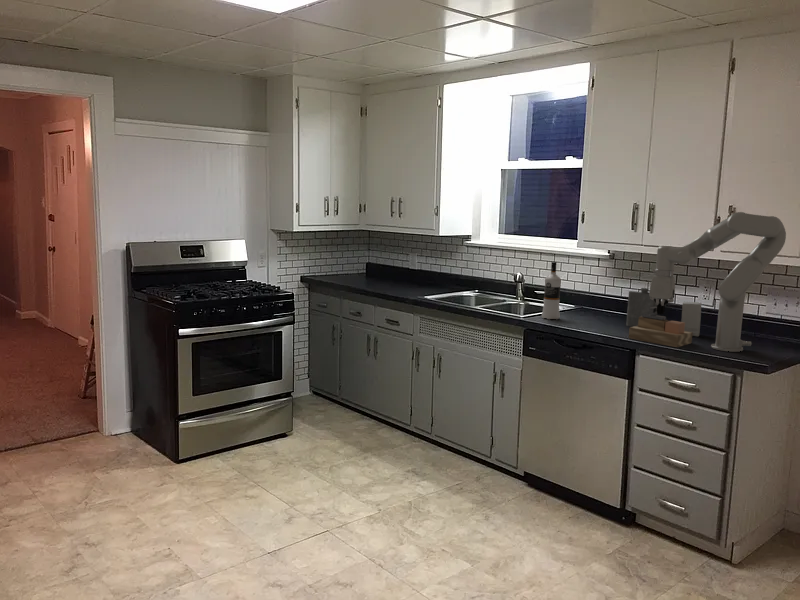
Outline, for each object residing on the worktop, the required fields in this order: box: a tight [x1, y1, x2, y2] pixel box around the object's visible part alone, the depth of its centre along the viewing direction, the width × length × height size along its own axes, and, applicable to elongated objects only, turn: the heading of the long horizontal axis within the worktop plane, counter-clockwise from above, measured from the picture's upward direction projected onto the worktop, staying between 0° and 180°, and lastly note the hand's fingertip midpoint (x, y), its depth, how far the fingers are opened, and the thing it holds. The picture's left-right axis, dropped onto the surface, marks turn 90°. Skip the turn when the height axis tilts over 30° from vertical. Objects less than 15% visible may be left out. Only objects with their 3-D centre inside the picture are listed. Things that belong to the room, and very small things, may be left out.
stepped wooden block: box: [628, 317, 693, 348], centre depth 309 cm, size 14×23×10 cm, turn 42°
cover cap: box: [665, 320, 685, 334], centre depth 304 cm, size 6×6×4 cm
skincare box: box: [681, 301, 702, 337], centre depth 324 cm, size 8×7×16 cm
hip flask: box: [625, 287, 657, 327], centre depth 339 cm, size 16×4×20 cm, turn 39°
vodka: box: [541, 261, 562, 320], centre depth 358 cm, size 9×9×30 cm
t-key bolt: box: [642, 307, 667, 320], centre depth 311 cm, size 6×10×5 cm, turn 42°
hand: (660, 313), depth 308 cm, fingers closed
